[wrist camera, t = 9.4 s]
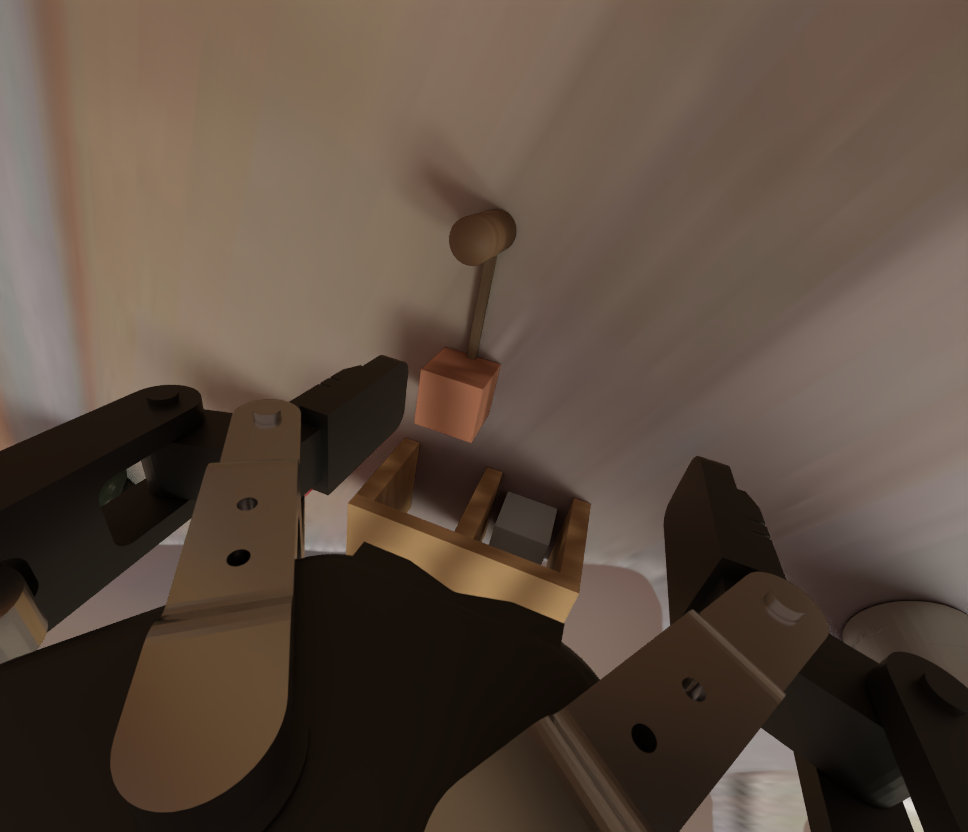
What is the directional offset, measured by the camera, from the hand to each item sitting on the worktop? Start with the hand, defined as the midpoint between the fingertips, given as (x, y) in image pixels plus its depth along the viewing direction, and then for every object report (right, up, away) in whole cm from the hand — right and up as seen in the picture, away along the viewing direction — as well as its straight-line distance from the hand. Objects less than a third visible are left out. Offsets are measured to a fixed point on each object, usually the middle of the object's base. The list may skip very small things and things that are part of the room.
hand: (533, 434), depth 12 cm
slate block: (+3, -10, +31) cm, 33 cm away
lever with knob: (-2, +8, +23) cm, 24 cm away
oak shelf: (-1, -8, +32) cm, 33 cm away
